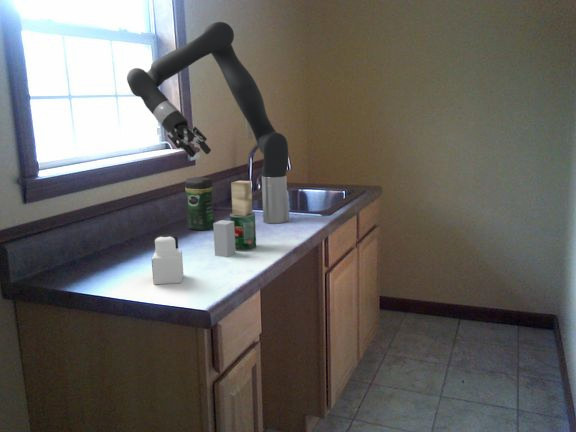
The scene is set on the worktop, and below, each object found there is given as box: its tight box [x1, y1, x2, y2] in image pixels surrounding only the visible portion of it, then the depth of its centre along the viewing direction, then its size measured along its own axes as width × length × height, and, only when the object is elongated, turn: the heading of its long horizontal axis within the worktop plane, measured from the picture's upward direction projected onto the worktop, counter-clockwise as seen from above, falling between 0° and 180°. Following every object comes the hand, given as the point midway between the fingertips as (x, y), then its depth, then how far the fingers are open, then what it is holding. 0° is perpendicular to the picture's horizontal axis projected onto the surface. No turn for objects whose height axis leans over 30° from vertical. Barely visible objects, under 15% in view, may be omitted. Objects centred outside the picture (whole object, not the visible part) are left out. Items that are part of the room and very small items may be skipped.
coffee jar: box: [184, 176, 216, 231], centre depth 208 cm, size 10×8×19 cm
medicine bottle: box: [151, 233, 184, 285], centre depth 152 cm, size 7×7×12 cm
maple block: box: [230, 180, 253, 216], centre depth 179 cm, size 4×4×10 cm
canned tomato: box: [229, 211, 257, 252], centre depth 182 cm, size 8×8×11 cm
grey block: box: [212, 219, 237, 258], centre depth 175 cm, size 4×4×10 cm
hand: (201, 153), depth 187 cm, fingers open, 8 cm apart
